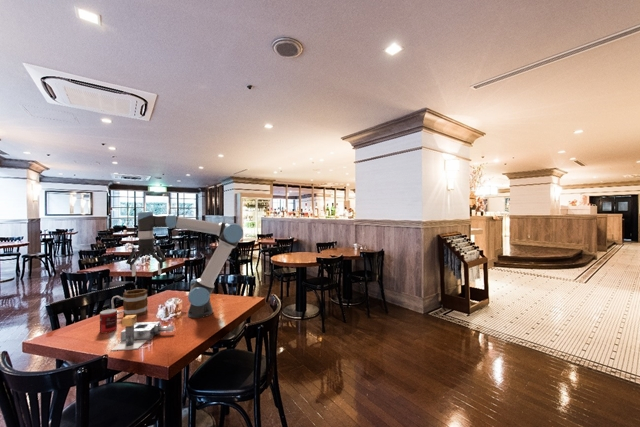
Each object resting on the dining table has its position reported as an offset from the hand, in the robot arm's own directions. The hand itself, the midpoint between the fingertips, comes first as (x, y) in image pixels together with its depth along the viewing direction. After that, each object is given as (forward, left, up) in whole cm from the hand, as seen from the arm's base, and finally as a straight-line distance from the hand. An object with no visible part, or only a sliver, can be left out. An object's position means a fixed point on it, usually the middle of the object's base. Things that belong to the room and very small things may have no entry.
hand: (146, 275), depth 160 cm
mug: (+21, -23, -31) cm, 44 cm away
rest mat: (-2, +22, -31) cm, 38 cm away
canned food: (+20, +1, -31) cm, 37 cm away
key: (-2, +22, -30) cm, 37 cm away
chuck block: (-6, +11, -31) cm, 33 cm away
